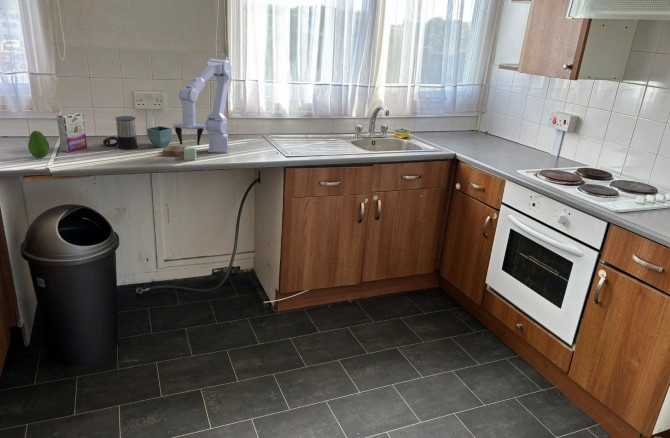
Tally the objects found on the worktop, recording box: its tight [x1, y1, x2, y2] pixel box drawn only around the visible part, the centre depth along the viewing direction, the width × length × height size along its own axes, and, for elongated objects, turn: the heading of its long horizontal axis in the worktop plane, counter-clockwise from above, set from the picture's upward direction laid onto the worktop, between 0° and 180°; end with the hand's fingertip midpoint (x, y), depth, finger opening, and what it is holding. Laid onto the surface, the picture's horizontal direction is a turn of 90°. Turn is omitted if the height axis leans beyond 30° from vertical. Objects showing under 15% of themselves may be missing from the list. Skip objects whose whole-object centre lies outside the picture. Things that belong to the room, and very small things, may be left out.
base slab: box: [162, 145, 188, 158], centre depth 243 cm, size 10×10×2 cm
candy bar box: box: [56, 112, 88, 153], centre depth 235 cm, size 11×5×16 cm, turn 161°
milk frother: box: [102, 115, 139, 151], centre depth 245 cm, size 14×16×15 cm
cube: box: [183, 146, 197, 161], centre depth 237 cm, size 5×5×5 cm
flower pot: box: [146, 125, 173, 148], centre depth 253 cm, size 9×9×9 cm
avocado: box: [27, 130, 50, 159], centre depth 219 cm, size 8×8×12 cm
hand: (189, 144), depth 235 cm, fingers open, 7 cm apart
